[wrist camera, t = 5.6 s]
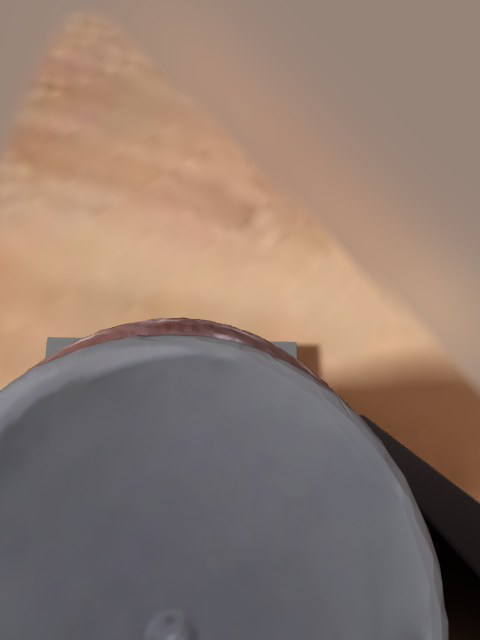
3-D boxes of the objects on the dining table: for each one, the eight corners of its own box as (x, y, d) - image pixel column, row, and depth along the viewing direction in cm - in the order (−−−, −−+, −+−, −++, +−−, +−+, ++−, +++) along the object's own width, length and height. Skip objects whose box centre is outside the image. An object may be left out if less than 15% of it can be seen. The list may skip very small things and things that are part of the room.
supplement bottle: (298, 447, 14) (681, 458, 4) (205, 632, 12) (422, 1856, 2) (146, 355, 14) (69, 91, 4) (32, 524, 12) (-843, 1026, 2)
